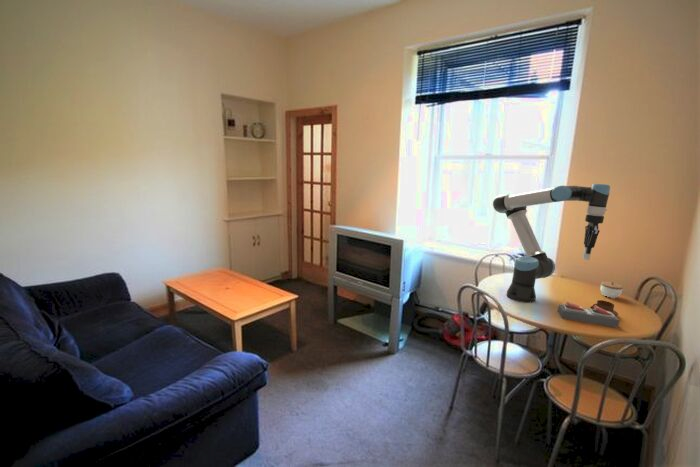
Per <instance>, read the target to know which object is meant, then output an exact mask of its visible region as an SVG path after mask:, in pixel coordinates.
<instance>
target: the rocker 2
mask: <svg viewBox="0 0 700 467" xmlns="http://www.w3.org/2000/svg"><path fill="white" fill-rule="evenodd" d="M593 305H594V304H593ZM594 309H595V310H597V311H599V312H601V313H604V314H606V315H612V314H611V313H610V312H608V311H606V310H604V309H602V308H600V307H597V306H596V305H594Z"/></svg>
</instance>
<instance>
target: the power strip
mask: <svg viewBox="0 0 700 467" xmlns="http://www.w3.org/2000/svg"><path fill="white" fill-rule="evenodd" d="M581 307H582V308H583V309H584V310H583V311H581V310H577V309H575V308H572V307H569V306H568V305H567V304H566V303H562V304H561V303H560V304H559V303H558V306H557V313H558V315H559V316H560V318H561V319H564V320H565V319H566V320H570V321H571V320H572V321H576V322H582V323H587V324H588V323H589V324H594V325H600V326H604V327H605V326H606V327H612V328H615V329H616V328H619V325H620V318H618V316H615V315H614V314H613V313H611V312H610V313H611V314H612V315H606V314H604V313H601V312H599V311H597V310H595V309H590V308H586V307H583V306H581ZM608 312H609V311H608Z"/></svg>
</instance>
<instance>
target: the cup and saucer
mask: <svg viewBox="0 0 700 467" xmlns="http://www.w3.org/2000/svg"><path fill="white" fill-rule="evenodd" d="M594 305H595V306H597V307H600V308H602V309H604V310H606V311H609V312H611V313H613V314H614V315H615V316H616V317H618V315H619V313H618V312H617V311H616V310H614V307H615V304H614V303H613V302H610V301H607V300H601V299H600V300H597V301H596V303H594V304H592V306H590V309H594Z"/></svg>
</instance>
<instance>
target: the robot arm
mask: <svg viewBox="0 0 700 467" xmlns="http://www.w3.org/2000/svg"><path fill="white" fill-rule="evenodd" d="M610 192H611V186H610V185H609V184H604V183H603V184H602V183H592V186H590V187H589V186H579V185H557V186H555V187H550V188H545V189H539V190H538V189H537V190H534V191H529V192H528V191H527V192H523V193H518V194H517V193H513V194H512V193H504V194H499V195H497V196H495V197H494V199H493V202H492V207H493V209H494V210H495V212H498V213H500V214H505V216H506V218H507V219H508V220H510V221H511V223H512V225H513V228H514V230H515V233H516V234H517V237H518V239H519V241H520V244H521V247H522V249H523V252H524V253H525V255H524V256H519V257H517V258H516V259H515V262H514V267H513V274H512V279H511V283H510V285H509V286H508V288H507V290H506V296H507V298H510V299H511V300H514V301H518V302H521V303H534V302H536V299H537V295H536V288H535V284H536V280H538V279H545V278H548V277H551V276H552V275H553V274H554V273H555V270H556V264H555V262H554V260H553V259H552V258H550V257H548V256H547V253H546V251H542V249H541V246H540V244H539V242H538V239H537V238H536V235H535V233H534V230H533V229H532V226H531V224H530V222H529V219H528V217H527V212H528V210H527V208H528V207H530V206H531V207H532V206H538V205H544V204H545V205H546V204H550V203H551V204H552V203H557V202H558V203H560V202H569V201H573V202H576V201H577V202H586V203H588V205H587V208H586V215H585V219H584V221H585V222H586V223H588V224H587V225H585V227H584V229H585V232H584V239H583V245H584V249H583V255H582V260H584V261H585V260H586V261H590V260H591V259H590V258H591V254H592V250H593V248H595V246H596V242H597V240H598V236H599V234H600V232H601V231H600V229H599V224H603V223H604V219H605V216H604V215H606V211H607V204H608V201H609V197H610Z"/></svg>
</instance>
